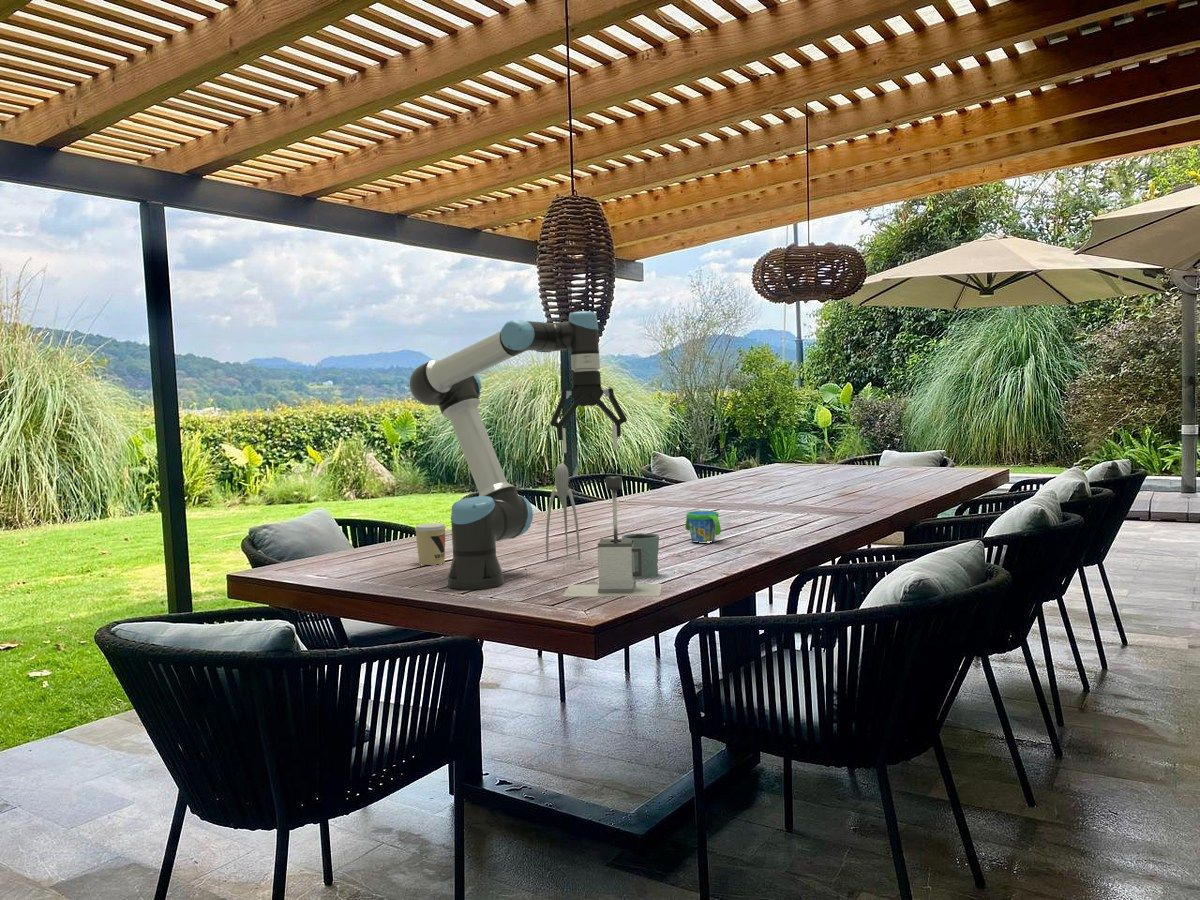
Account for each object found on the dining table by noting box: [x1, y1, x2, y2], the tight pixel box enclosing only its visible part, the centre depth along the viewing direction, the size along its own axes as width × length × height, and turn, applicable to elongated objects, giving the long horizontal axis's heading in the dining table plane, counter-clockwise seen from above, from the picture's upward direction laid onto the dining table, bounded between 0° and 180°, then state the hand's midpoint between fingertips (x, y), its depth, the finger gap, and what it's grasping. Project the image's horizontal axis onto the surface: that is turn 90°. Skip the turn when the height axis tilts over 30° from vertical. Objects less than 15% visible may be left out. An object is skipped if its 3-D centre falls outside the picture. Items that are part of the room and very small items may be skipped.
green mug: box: [621, 533, 660, 579], centre depth 249 cm, size 10×10×12 cm
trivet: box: [562, 583, 663, 598], centre depth 231 cm, size 24×14×1 cm, turn 84°
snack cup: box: [685, 510, 722, 542], centre depth 308 cm, size 16×10×10 cm
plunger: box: [605, 475, 623, 542], centre depth 230 cm, size 6×6×18 cm
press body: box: [597, 538, 642, 593], centre depth 231 cm, size 11×9×12 cm
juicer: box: [545, 462, 581, 562], centre depth 285 cm, size 10×9×30 cm
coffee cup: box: [414, 522, 447, 566], centre depth 284 cm, size 9×9×12 cm
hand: (590, 451), depth 242 cm, fingers open, 13 cm apart
